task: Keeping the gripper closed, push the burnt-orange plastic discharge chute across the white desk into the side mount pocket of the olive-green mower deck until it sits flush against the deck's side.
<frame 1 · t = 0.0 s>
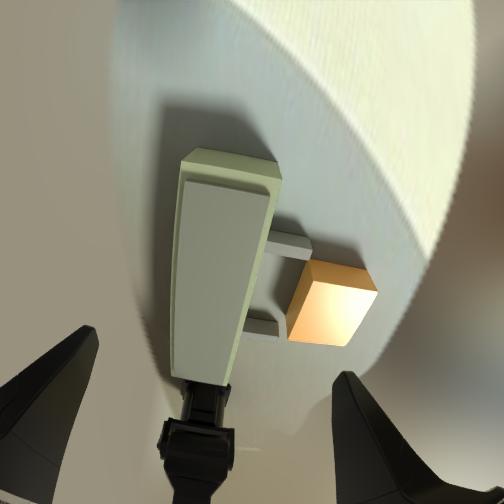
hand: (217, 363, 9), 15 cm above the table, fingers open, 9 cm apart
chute: (325, 292, 26), on the table
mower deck: (215, 275, 25), on the table
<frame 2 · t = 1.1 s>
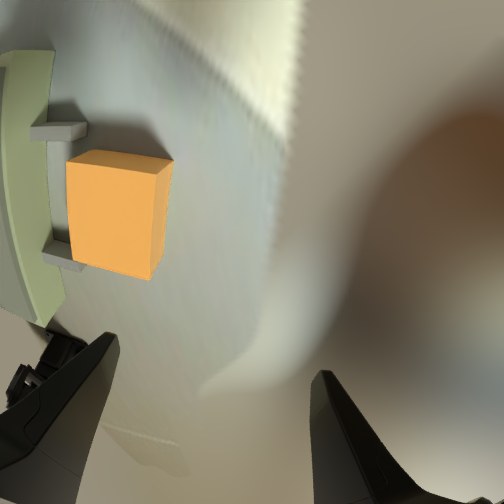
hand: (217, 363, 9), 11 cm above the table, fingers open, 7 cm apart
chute: (128, 201, 18), on the table
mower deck: (24, 187, 17), on the table
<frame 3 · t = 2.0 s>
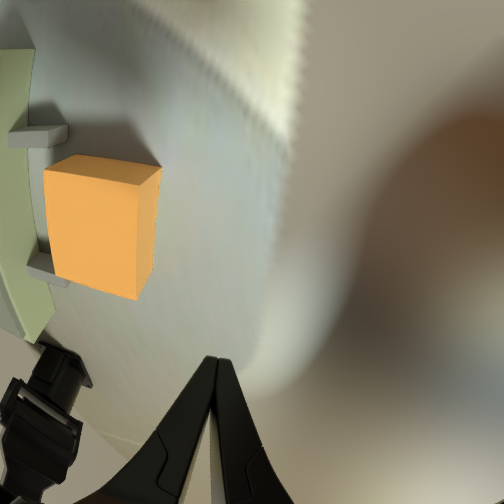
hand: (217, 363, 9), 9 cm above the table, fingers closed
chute: (114, 211, 16), on the table
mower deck: (8, 196, 15), on the table
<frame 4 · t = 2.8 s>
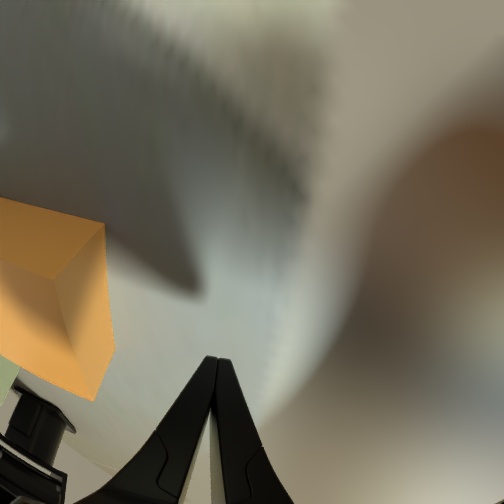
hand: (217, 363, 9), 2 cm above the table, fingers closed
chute: (56, 276, 10), on the table
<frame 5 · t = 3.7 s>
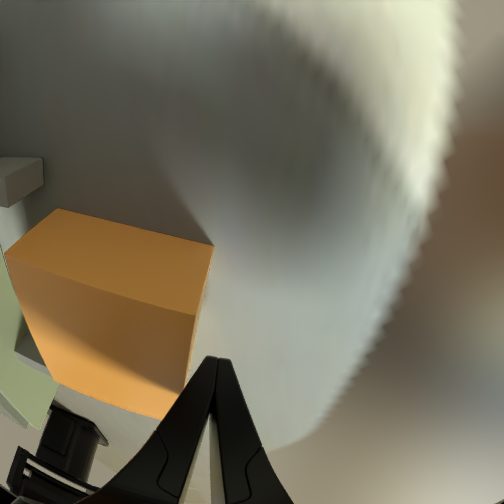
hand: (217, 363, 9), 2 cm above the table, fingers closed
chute: (130, 295, 11), on the table, touching gripper
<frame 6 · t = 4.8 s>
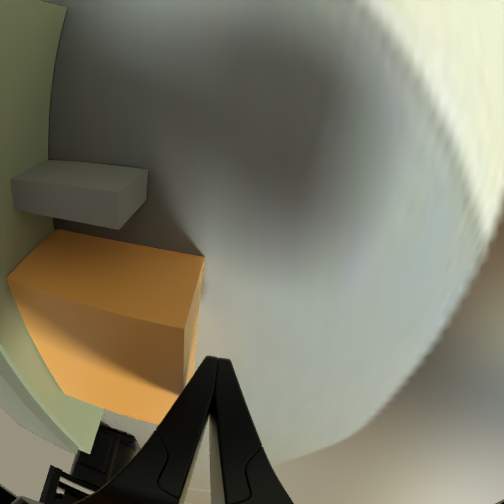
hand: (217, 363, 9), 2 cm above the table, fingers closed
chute: (130, 308, 11), on the table
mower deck: (20, 270, 10), on the table
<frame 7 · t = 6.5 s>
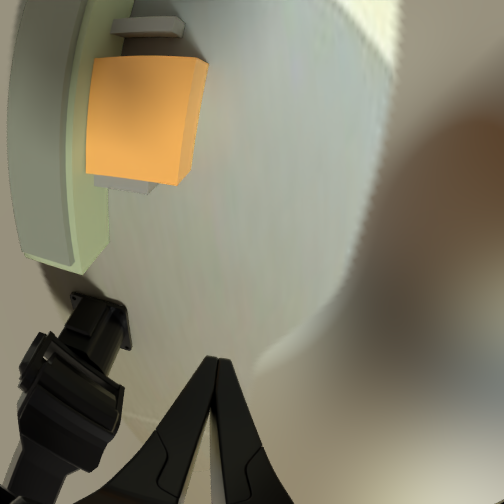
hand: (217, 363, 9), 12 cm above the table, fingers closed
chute: (155, 112, 15), on the table
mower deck: (79, 100, 14), on the table
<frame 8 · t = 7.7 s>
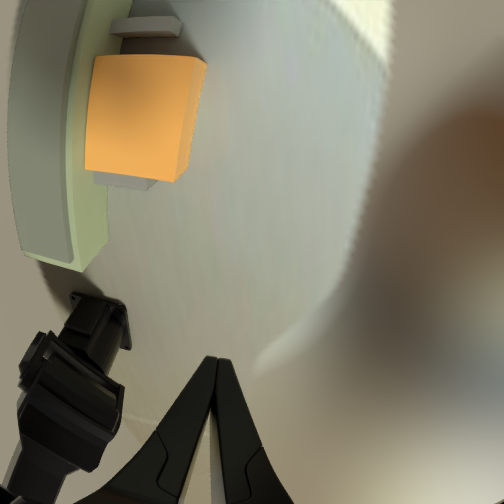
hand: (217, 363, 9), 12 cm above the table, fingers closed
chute: (153, 110, 16), on the table
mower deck: (78, 100, 15), on the table
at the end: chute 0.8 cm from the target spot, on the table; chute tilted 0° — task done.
